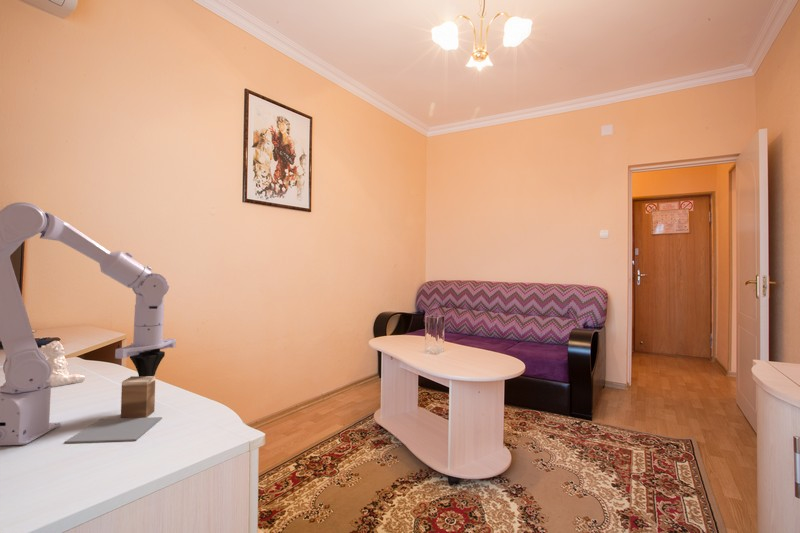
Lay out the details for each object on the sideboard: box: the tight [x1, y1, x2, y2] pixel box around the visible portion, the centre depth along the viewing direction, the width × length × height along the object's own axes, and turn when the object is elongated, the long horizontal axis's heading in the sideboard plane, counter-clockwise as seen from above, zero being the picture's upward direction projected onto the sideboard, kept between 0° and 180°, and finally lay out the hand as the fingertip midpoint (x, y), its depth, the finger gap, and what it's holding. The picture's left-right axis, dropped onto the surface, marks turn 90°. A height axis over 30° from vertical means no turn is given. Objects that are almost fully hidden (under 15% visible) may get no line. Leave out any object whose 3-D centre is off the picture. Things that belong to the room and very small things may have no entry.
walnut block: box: [120, 375, 156, 418], centre depth 87 cm, size 4×5×8 cm
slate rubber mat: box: [64, 416, 163, 444], centre depth 79 cm, size 11×12×1 cm
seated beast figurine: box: [40, 340, 86, 388], centre depth 107 cm, size 10×9×12 cm
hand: (146, 383), depth 90 cm, fingers closed
